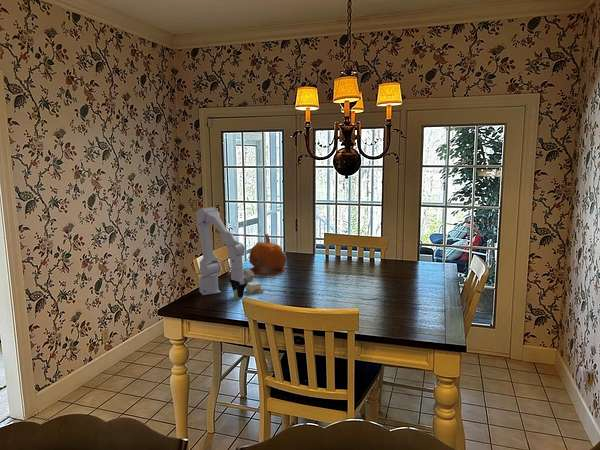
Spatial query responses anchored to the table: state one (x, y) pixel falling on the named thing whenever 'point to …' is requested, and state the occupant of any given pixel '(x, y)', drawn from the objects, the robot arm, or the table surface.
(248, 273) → the game die
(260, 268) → the pumpkin
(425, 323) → the table surface
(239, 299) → the green capsule
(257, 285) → the cream block
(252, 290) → the birch base block
